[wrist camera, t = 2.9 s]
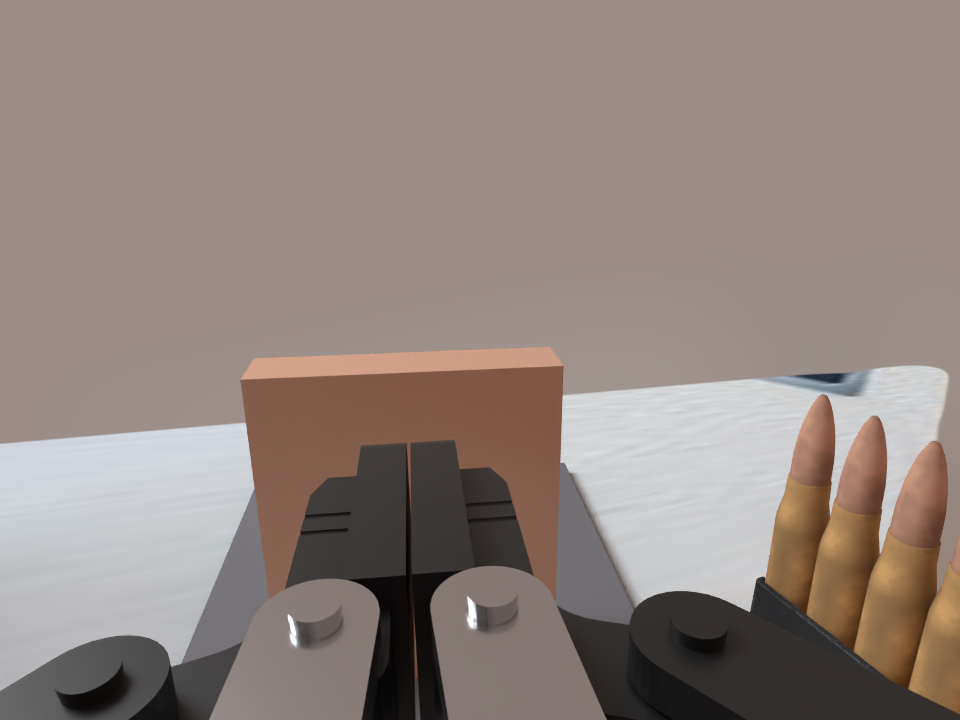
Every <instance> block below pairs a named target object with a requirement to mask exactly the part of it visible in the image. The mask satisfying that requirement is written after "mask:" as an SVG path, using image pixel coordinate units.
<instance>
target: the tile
mask: <svg viewBox="0 0 960 720" xmlns="http://www.w3.org/2000/svg"><path fill="white" fill-rule="evenodd" d="M241 387H242V395H243V403H244V410H245V417H246V426H247V433H248V441H249V449H250V456H251V464H252V472H253V479H254V487H255V495H256V502H257V510H258V517H259V525H260V533H261V540H262V548H263V556H264V563H265V571H266V579H267V586H268V594H269V599H270V598H272V597H273V596H275V595H276V594H277V593H279V592H281V591H283V590H285V586H286V582H287V579H288V575H289V571H290V568H291V564H292V560H293V557H294V553H295V549H296V545H297V542H298V538H299V536H300V531H301V527H302V523H303V520H304V519H305V512H306V509H307V505H308V501H309V497H310V495H311V494H312V493H313V492H314V491H315V490H316V489H317V488H318V487H319V486H320V485H321V484H322V483H323V482H324V481H325V480H326V479H327V478H333V477H348V476H356V475H357V468H358V461H359V455H360V448H361V445H377V444H393V443H407V455H408V472H409V489H410V506H411V464H410V442H423V441H440V440H455V443H456V450H457V456H458V462H459V469H469V468H484V467H490V468H491V469H492V470H493V471H494V472H496V473H497V474H498V475H499V476H500V477H502V478H503V479H504V480H505V481H506V482H507V484H508V488H509V491H510V495H511V498H512V504H513V505H514V509H515V512H516V515H517V520H518V522H519V526H520V529H521V533H522V536H523V540H524V543H525V547H526V550H527V554H528V557H529V560H530V564H531V567H532V571H533V574H534V577H536V578H537V579H539V580H540V581H541V582H543V583H544V584H545V586H546V587H547V588H548V589H549V591H550V592H551V594H552V596H553V598H554V601H555V602H556V572H557V542H558V513H559V483H560V454H561V424H562V395H563V394H562V393H563V365H562V363H561V361H560V360H559V358H558V357H557V355H556V354H555V352H554V351H553V349H552V348H551V347H536V348H534V347H533V348H510V349H509V348H508V349H483V350H458V351H432V352H408V353H384V354H383V353H382V354H356V355H331V356H308V357H307V356H306V357H281V358H258V359H257V358H256V359H254V360H253V361H252V363H251V364H250V366H249V367H248V369H247V371H246V372H245V374H244V375H243V377H242V378H241ZM414 639H415V679H418V671H417V655H416V638H415V622H414Z"/></svg>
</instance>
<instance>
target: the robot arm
mask: <svg viewBox="0 0 960 720" xmlns="http://www.w3.org/2000/svg"><path fill="white" fill-rule="evenodd" d="M410 464H411V506H410V489H409V472H408V455H407V443H393V444H377V445H361V448H360V455H359V461H358V468H357V475H356V476H348V477H333V478H327V479H326V480H325V481H324V482H323V483H322V484H321V485H320V486H319V487H318V488H317V489H316V490H315V491H314V492H313V493H312V494H311V495H310V497H309V501H308V505H307V509H306V512H305V519H304V520H303V523H302V527H301V531H300V536H299V538H298V542H297V545H296V549H295V553H294V557H293V560H292V564H291V568H290V571H289V575H288V579H287V582H286V586H285V590H283V591H281V592H279V593H277V594H276V595H275V596H273V597H272V598H270V599H269V600H268V601H267V602H266V603H264V604H263V605H262V606H261V608H260V609H259V610H258V611H257V612H256V614H255V616H254V618H253V620H252V622H251V624H250V626H249V629H248V631H247V633H246V636H245V638H244V640H243V641H242V642H241V643H239V644H237V645H235V646H233V647H230V648H228V649H226V650H223V651H220V652H218V653H215V654H212V655H208V656H205V657H202V658H199V659H196V660H192V661H189V662H186V663H183V664H180V665H176V666H173V667H171V665H170V660H169V657H168V653H167V652H166V650H165V649H164V647H163V646H162V645H160V644H159V643H158V642H156V641H154V640H152V639H149V638H145V637H141V636H115V637H109V638H104V639H100V640H96V641H92V642H89V643H87V644H84V645H81V646H78V647H76V648H74V649H72V650H69V651H67V652H65V653H63V654H62V655H60V656H58V657H56V658H54V659H53V660H51V661H49V662H48V663H46V664H44V665H43V666H41V667H39V668H38V669H36V670H35V671H33V672H31V673H30V674H28V675H26V676H25V677H23V678H21V679H20V680H18V681H16V682H15V683H13V684H11V685H10V686H8V687H6V688H5V689H3V690H2V691H0V720H416V708H415V639H414V622H415V638H416V655H417V671H418V688H419V704H420V720H960V714H958V713H956V712H954V711H952V710H950V709H948V708H946V707H944V706H942V705H940V704H938V703H936V702H934V701H931V700H929V699H927V698H925V697H923V696H921V695H919V694H917V693H915V692H913V691H911V690H909V689H907V688H905V687H903V686H901V685H898V684H896V683H894V682H892V681H890V680H888V679H886V678H884V677H882V676H880V675H878V674H876V673H874V672H872V671H870V670H868V669H865V668H863V667H861V666H859V665H857V664H855V663H853V662H851V661H849V660H847V659H845V658H843V657H841V656H839V655H837V654H835V653H832V652H830V651H828V650H826V649H824V648H822V647H820V646H818V645H816V644H814V643H812V642H810V641H808V640H806V639H804V638H802V637H799V636H797V635H795V634H793V633H791V632H789V631H787V630H785V629H783V628H781V627H779V626H777V625H775V624H773V623H771V622H769V621H766V620H764V619H762V618H760V617H758V616H756V615H754V614H752V613H750V612H748V611H746V610H744V609H742V608H740V607H738V606H736V605H733V604H731V603H729V602H727V601H725V600H722V599H720V598H717V597H714V596H711V595H707V594H702V593H697V592H688V591H673V592H665V593H661V594H657V595H654V596H652V597H650V598H647V599H646V600H644V601H643V602H641V603H640V604H639V605H638V606H637V607H636V608H635V610H634V612H633V613H632V615H631V619H630V625H627V624H621V623H614V622H607V621H600V620H595V619H590V618H585V617H582V616H579V615H575V614H573V613H571V612H568V611H566V610H564V609H562V608H560V607H559V606H557V605H556V603H555V601H554V598H553V596H552V594H551V592H550V591H549V589H548V588H547V587H546V586H545V584H544V583H543V582H541V581H540V580H539V579H537V578H536V577H534V574H533V571H532V567H531V564H530V560H529V557H528V554H527V550H526V547H525V543H524V540H523V536H522V533H521V529H520V526H519V522H518V520H517V515H516V512H515V509H514V505H513V504H512V498H511V495H510V491H509V488H508V484H507V482H506V481H505V480H504V479H503V478H502V477H500V476H499V475H498V474H497V473H496V472H494V471H493V470H492V469H491V468H490V467H484V468H469V469H459V462H458V456H457V450H456V443H455V440H440V441H423V442H410Z"/></svg>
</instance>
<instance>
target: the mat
mask: <svg viewBox="0 0 960 720" xmlns="http://www.w3.org/2000/svg"><path fill="white" fill-rule="evenodd" d="M268 600H269V594H268V586H267V579H266V571H265V563H264V556H263V548H262V540H261V533H260V525H259V517H258V510H257V502H256V495H255V489H254V491H253V494H252V496H251V498H250V501H249V503H248V506H247V508H246V510H245V513H244V515H243V518H242V520H241V522H240V525H239V527H238V530H237V532H236V534H235V537H234V539H233V542H232V544H231V546H230V549H229V551H228V554H227V556H226V558H225V561H224V563H223V565H222V568H221V570H220V573H219V575H218V577H217V580H216V582H215V585H214V587H213V589H212V592H211V594H210V597H209V599H208V601H207V604H206V606H205V609H204V611H203V613H202V616H201V618H200V620H199V623H198V625H197V628H196V630H195V632H194V635H193V637H192V640H191V642H190V644H189V647H188V649H187V652H186V654H185V656H184V659H183V661H182V664H183V663H186V662H189V661H192V660H196V659H199V658H202V657H205V656H208V655H212V654H215V653H218V652H220V651H223V650H226V649H228V648H230V647H233V646H235V645H237V644H239V643H241V642H242V641H243V640H244V638H245V636H246V633H247V631H248V629H249V626H250V624H251V622H252V620H253V618H254V616H255V614H256V612H257V611H258V610H259V609H260V608H261V606H262V605H263V604H264V603H266V602H267V601H268ZM555 603H556V605H557V606H559V607H560V608H562V609H564V610H566V611H568V612H571V613H573V614H575V615H579V616H582V617H585V618H590V619H595V620H600V621H607V622H614V623H621V624H627V625H630V619H631V615H632V613H633V612H634V609H633V607H632V605H631V603H630V601H629V599H628V597H627V595H626V592H625V590H624V588H623V586H622V584H621V582H620V580H619V578H618V575H617V573H616V571H615V569H614V567H613V565H612V563H611V561H610V558H609V556H608V554H607V552H606V550H605V548H604V546H603V544H602V542H601V539H600V537H599V535H598V533H597V531H596V529H595V527H594V525H593V522H592V520H591V518H590V516H589V514H588V512H587V510H586V508H585V505H584V503H583V501H582V499H581V497H580V495H579V493H578V491H577V488H576V486H575V484H574V482H573V480H572V478H571V476H570V474H569V472H568V469H567V467H566V465H565V463H560V483H559V513H558V542H557V572H556V602H555ZM415 708H416V720H420V704H419V688H418V679H415Z"/></svg>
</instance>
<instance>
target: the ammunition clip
mask: <svg viewBox="0 0 960 720" xmlns="http://www.w3.org/2000/svg"><path fill="white" fill-rule="evenodd" d="M834 456H835V425H834V416H833V411H832V407H831V404H830V401H829V398H828V396H827V395H824V394H822V395H820V396H819V397H818V398H817V399H816V401H815V402H814V403H813V405H812V407H811V408H810V410H809V412H808V414H807V416H806V418H805V420H804V422H803V425H802V427H801V430H800V432H799V435H798V439H797V442H796V446H795V449H794V453H793V458H792V464H791V470H790V473H789V475H788V479H787V484H786V489H785V494H784V496H783V498H782V501H781V503H780V506H779V508H778V511H777V514H776V518H775V525H774V531H773V537H772V543H771V549H770V556H769V562H768V568H767V574H766V580H765V577H760V578H758V579H757V580H756V585H755V590H754V595H753V600H752V606H751V611H750V613H752V614H754V615H756V616H758V617H760V618H762V619H764V620H766V621H769V622H771V623H773V624H775V625H777V626H779V627H781V628H783V629H785V630H787V631H789V632H791V633H793V634H795V635H797V636H799V637H802V638H804V639H806V640H808V641H810V642H812V643H814V644H816V645H818V646H820V647H822V648H824V649H826V650H828V651H830V652H832V653H835V654H837V655H839V656H841V657H843V658H845V659H847V660H849V661H851V662H853V663H855V664H857V665H859V666H861V667H863V668H865V669H868V670H870V671H872V672H874V673H876V674H878V675H880V676H882V677H884V678H886V679H888V680H890V681H892V682H894V683H896V684H898V685H901V686H903V687H905V688H907V689H909V690H911V691H913V692H915V693H917V694H919V695H921V696H923V697H925V698H927V699H929V700H931V701H934V702H936V703H938V704H940V705H942V706H944V707H946V708H948V709H950V710H952V711H954V712H956V713H958V714H960V534H959V536H958V540H957V543H956V547H955V550H954V554H953V558H952V561H950V563H949V566H948V569H947V572H946V575H945V578H944V581H943V585H942V586H941V588H940V590H939V592H938V593H937V562H938V556H939V551H940V546H941V542H940V538H941V534H942V530H943V526H944V521H945V515H946V506H947V496H948V475H947V464H946V459H945V455H944V452H943V449H942V446H941V444H940V443H939V442H938V441H932V442H930V443H929V444H928V445H927V446H926V447H925V448H924V449H923V450H922V451H921V453H920V454H919V455H918V457H917V458H916V460H915V462H914V463H913V465H912V467H911V469H910V470H909V472H908V474H907V476H906V479H905V481H904V483H903V486H902V488H901V491H900V494H899V496H898V499H897V502H896V505H895V508H894V512H893V516H892V521H891V525H890V527H889V529H888V532H887V535H886V539H885V542H884V546H883V549H882V552H881V554H880V550H879V527H880V521H881V514H882V509H881V507H882V502H883V496H884V491H885V485H886V473H887V449H886V439H885V433H884V429H883V426H882V423H881V420H880V418H879V417H878V416H872V417H870V418H869V419H868V420H867V422H866V423H865V424H864V425H863V427H862V428H861V430H860V431H859V433H858V435H857V437H856V439H855V441H854V442H853V444H852V447H851V449H850V451H849V453H848V456H847V458H846V461H845V464H844V467H843V470H842V474H841V477H840V482H839V486H838V491H837V496H836V498H835V500H834V504H833V508H832V512H831V516H830V509H829V500H830V492H831V484H832V482H831V477H832V471H833V465H834ZM879 555H880V556H879ZM936 593H937V595H936Z"/></svg>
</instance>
